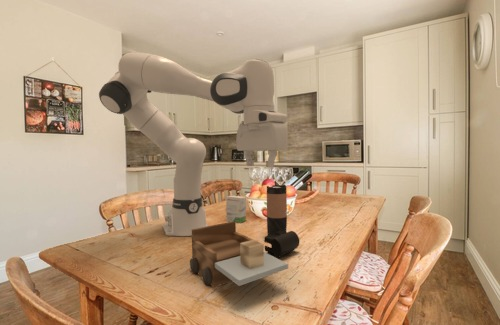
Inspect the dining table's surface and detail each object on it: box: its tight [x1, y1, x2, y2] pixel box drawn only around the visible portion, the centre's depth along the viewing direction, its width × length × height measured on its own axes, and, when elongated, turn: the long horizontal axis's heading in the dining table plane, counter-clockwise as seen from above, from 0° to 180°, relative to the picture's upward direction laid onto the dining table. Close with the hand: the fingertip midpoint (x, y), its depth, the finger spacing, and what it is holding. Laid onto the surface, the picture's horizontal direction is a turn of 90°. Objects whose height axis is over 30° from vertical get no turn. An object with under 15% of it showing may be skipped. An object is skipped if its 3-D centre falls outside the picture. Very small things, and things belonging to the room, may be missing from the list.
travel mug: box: [266, 184, 288, 236], centre depth 103 cm, size 8×8×20 cm
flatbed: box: [189, 221, 254, 288], centre depth 76 cm, size 13×16×12 cm
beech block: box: [240, 239, 265, 269], centre depth 65 cm, size 4×4×5 cm
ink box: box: [225, 195, 247, 224], centre depth 129 cm, size 9×5×12 cm, turn 58°
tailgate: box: [215, 251, 289, 287], centre depth 65 cm, size 2×14×11 cm
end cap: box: [264, 230, 300, 259], centre depth 88 cm, size 10×7×7 cm
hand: (259, 166), depth 78 cm, fingers open, 8 cm apart
